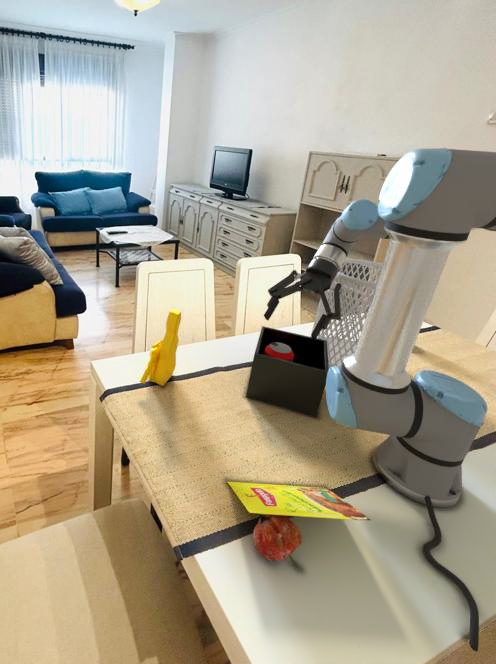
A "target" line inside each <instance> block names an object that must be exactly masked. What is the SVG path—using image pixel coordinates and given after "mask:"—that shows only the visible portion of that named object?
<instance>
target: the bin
mask: <svg viewBox="0 0 496 664" xmlns="http://www.w3.org/2000/svg"><path fill="white" fill-rule="evenodd" d="M317 338H318V337H317ZM317 338H316V340H314V339H313V338H312V337H311V336H308V335H303V334H299V333H295V332H290V331H285V330H281V329H277V328H272V327H269V326H265V325H264V326H263V325H262V326H261V329H260V332H259V336H258V340H257V344H256V347H255V350H254V354H253V359H252V364H251V368H250V374H249V378H248V384H247V390H246V394H245V398H248V399H251V400H254V401H258V402H261V403H265V404H267V405H272V406H275V407H278V408H280V409H281V408H282V409H285V410H287V411H292V412H294V413H298V414H301V415H305V416H309V417H313V418H317V416H318V413H319V409H320V406H321V403H322V400H323V396H324V392H325V390H326V378H327V373H328V370H329V362H328V348H327V341H326V340H322V339H317ZM273 342H279V343H283V344H286V345H288V346H289V347H290V348H291V350H292V352H293V353H294V358H293V362H290V361H286V360H282V359H278V358H274V357H270V356H266V355H264V351H265V348H266V347H267V346H268V345H270V344H271V343H273Z"/></svg>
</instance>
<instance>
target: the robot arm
mask: <svg viewBox="0 0 496 664" xmlns="http://www.w3.org/2000/svg"><path fill="white" fill-rule="evenodd" d="M481 229H483V230H485V231H489V232H496V151H486V150H485V151H484V150H470V149H469V150H468V149H455V148H447V147H442V148H438V147H437V148H435V147H434V148H417V149H413V150H411V151H409V152H407V153H405V154H404V155H403V156H401V158H399V160H397V162H396V163H394V165H393V167H392V168H391V169H390V170H389V173H388V174H387V176H386V178H385V180H384V182H383V184H382V187H381V190H380V193H379V197H378V204H376V203H375V202H373V201H371V200H370V199H364V198H361V199H356V200H353V201H352V202H351V203H350V204H349V205H348V206H347V207H346V208H345V209H344V210H343V211H342V213H341V214H340V216H338V217H337V218H336V220H335V221H334V222H333V224H332V225H331V227H330V228H329V231H328V233H327V234H326V236H325V238H324V240H323V241H322V243H321V244H320V246H319V247H318V249H317V251H316V253H314V256H313V257H312V259H311V260H310V262H309V264H308V266H307V267H306V269H305V271H304V272H303V273H299V272H298V271H297V270H296V269H294V270H292V271H291V272H290V273H289V275H288V276H286V277H284V278H283V279H281V280H280V281H278V282H277V283H276V284H274V285H273V286H271V287H269V288H268V290H267V293H268V294H269V296H270V299H268V302H267V304H266V306H267V309H266V311H265V313H264V314H263V317H264V319H265V321H269V320H270V318H271V317H272V316H273V314H274V312H275V311H276V309H277V307H278V305H280V300H281V299H283V298H286V297H288V296H291V295H293V294H296V293H298V292H302V291H304V292H305V293H309V294H312V295H314V296H317V295H319V297H320V298H321V300H322V302H323V305H324V308H325V314H327V315H325V314H322V316H321V318H320V320H319V321H318V323H317V325H316V327H315V328H314V330H313V332H312V331H311V333H312V334H311V333H310V337H311V336H312V338H313V339H314V340H316V338H318V337H317V336H318V335H319V333H320V334H321V332H320V331H321V329H326V328H328V327H329V323H330V321H331V322H332V321H333V319H336V321H339V320H341V319H342V314H341V311H342V308H341V306H340V304H341V302H340V294H341V293H342V286H341V282H339V283H337V282H336V283H337V284H336V283H335V284H332V282H333V280H334V278H335V277H336V275H337V273H338V272H339V271H340V270H341V266H343V265H344V261H345V259H347V258H348V255H349V254H350V252H351V250H352V249H353V248H354V246H355V245H356V243H357V242H359V240H360V239H362V238H372V239H381V240H389V242H388V243H389V244H388V246H387V250H386V253H385V256H384V259H383V263H382V264H383V265H382V269H380V271H379V275H378V277H379V278H378V281H377V282H376V283H377V284H376V287H375V291H374V294H372V296H373V297H372V296H371V297H372V300H371V303H370V306H369V307H368V308H367V309H368V310H367V311H368V313H367V316H366V319H364V322H363V324H364V325H363V328H362V332H361V331H360V334H359V337H360V338H359V341H358V344H357V347H356V350H355V353H352V354H349V355H347V356H345V358H344V360H343V363H342V366H341V367H338V366H333V367H331V368H330V369H329V370H328V373H327V378H326V386H325V397H326V399H325V400H326V405H327V410H328V413H329V416H330V417H331V419H332V421H333V422H334V423H335V424H337V425H340V426H344V427H347V428H352V429H353V430H360V431H367V432H371V433H376V434H382V435H388V437H387V438H386V439H384V440H383V441H382V442H381V443H380V444H379V445H378V446H377V447H376V449H375V452H374V454H373V465H374V467H375V469H376V471H377V472H378V474H379V475H380V477H381V478H382V479H383V480H384V481H385V482H386V483H387V484H388V485H389V486H390V487H391V488H393V489H394V490H396V491H397V492H398V493H400V494H402V495H403V496H405V497H407V498H409V499H411V500H413V501H415V502H417V503H420V504H422V505H426V510H427V513H428V517H429V520H430V523H431V525H432V528H433V532H434V536H433V539H432V540H429V541H428V542H425V543H424V544H423V546H422V552H423V555H424V558H425V559H426V560H427V562H429V564H430V565H431V566H433V567H434V569H436V570H438V571H439V572H440V573H441V574H443V575H444V576H445V577H447V578H448V579H450V580H451V581H452V582H453V583H455V585H456V586H457V587H458V588H459V589H460V591H461V593H462V595H463V596H464V597H465V599H466V602H467V604H468V607H469V641H468V644H469V648H470V649H472V651H474V652H478V651H479V641H480V639H479V638H480V636H479V635H480V634H479V633H480V614H479V609H478V604H477V602H476V601H475V598H474V596H473V594H472V592H471V591H470V590H469V588H468V587H467V585H466V583H464V581H463V580H461V578H459V577H458V576H457V575H456V574H454V572H452V571H451V570H450V569H448V568H446V567H445V566H443V565H442V564H441V563H439V561H437V560H436V559H435V557H433V555H432V553H431V550H432V549H433V548H436V547H438V546H440V544H441V543H442V536H443V535H442V531H441V527H440V525H439V522H438V519H437V516H436V513H435V509H434V508H449V507H452V506H454V505H456V504H457V503H458V501H459V499H460V497H461V496H462V493H463V463H464V460H465V458H466V456H467V455H468V453H469V451H470V448H471V446H472V445H473V442H474V440H475V439H476V437H477V435H478V432H479V431H480V429H481V428H482V427H483V426H484V423H485V418H486V415H487V413H488V404H487V401H486V400H485V398H484V397H483V396H482V395H481V394H480V393H479V392H477V390H475V389H474V388H473V387H471V386H469V385H468V384H466V383H465V382H463V381H461V380H459V379H457V378H455V377H453V376H451V375H448V374H445V373H442V372H439V371H436V370H430V369H423V370H420V371H418V372H417V373H416V374H415V375H414V378H411V375H410V374H409V372H408V371H407V370H406V368H407V365H408V363H409V359H410V357H411V354H412V352H413V350H414V347H415V344H416V342H417V340H418V336H419V334H420V331H421V329H422V326H423V323H424V321H425V318H426V316H427V313H428V310H429V308H430V305H431V303H432V300H433V297H434V295H435V292H436V290H437V287H438V285H439V282H440V279H441V276H442V274H443V271H444V269H445V266H446V264H447V261H448V259H449V255H450V253H451V251H452V249H454V248H456V247H458V246H461V245H463V244H465V243H466V242H467V241H468V238H469V236H470V233H471V231H475V230H481ZM295 281H296V282H295ZM294 282H295V283H294ZM330 288H331V290H332V291H333V292H334V305H335V313H332V312H331V311H332V309H330V307H329V304H328V302H329V300H328V301H327V298H326V295H325V291H327V290H329V289H330ZM333 292H332V293H333Z"/></svg>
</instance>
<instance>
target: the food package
mask: <svg viewBox="0 0 496 664" xmlns="http://www.w3.org/2000/svg"><path fill="white" fill-rule="evenodd" d="M227 484H228V485H229V487H230V488H231V490H232V491H233V492H234V493H235V496H237V498H238V499H239V501H240V502H241V503H242V505H243V506H244V507H245V509H246V510H247V512H248V513H249V514H255V513H258V514H262V515H267V514H269V515H285V516H288V517H302V518H317V519H319V518H320V519H331V520H332V519H334V520H347V521H365V522H372V518H371V519H370V518H369V517H368V516H366V515H365V514H364V513H363V512H361V511H360V510H359V509H357V508H356V507H354V506H353V505H351V504H350V503H349V502H347V501H346V500H344V499H343V498H342V497H340V496H339V495H338V494H336V493H334V492H333V491H332V490H330V489H328V488H327V487H318V486H317V487H315V486H314V487H313V486H299V485H285V484H284V485H283V484H271V483H270V484H269V483H268V484H267V483H254V482H237V481H227Z"/></svg>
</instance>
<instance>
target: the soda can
mask: <svg viewBox="0 0 496 664" xmlns="http://www.w3.org/2000/svg"><path fill="white" fill-rule="evenodd" d="M264 355H266V356H270V357H274V358H278V359H282V360H286V361H290V362H293V358H294V353H293V352H292V350H291V348H290V347H289V346H288V345H286V344H283V343H279V342H273V343H271V344H270V345H268V346H267V347H266V348H265V351H264Z"/></svg>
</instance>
